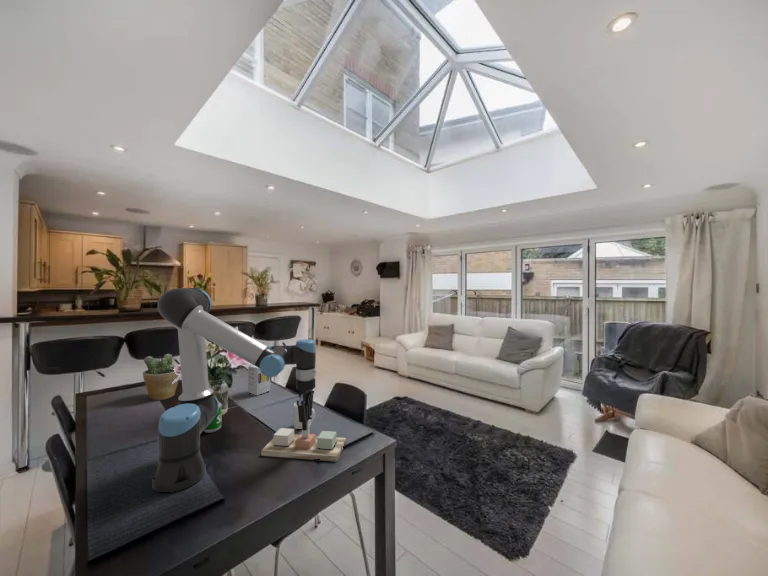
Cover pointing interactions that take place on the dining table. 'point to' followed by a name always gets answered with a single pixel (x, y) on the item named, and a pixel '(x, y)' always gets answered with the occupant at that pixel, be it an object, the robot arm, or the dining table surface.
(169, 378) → the potted plant
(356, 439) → the dining table surface
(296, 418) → the mug
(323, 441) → the sage button
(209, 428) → the soda can
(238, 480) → the dining table surface
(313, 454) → the button board
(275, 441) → the cream button
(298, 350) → the robot arm
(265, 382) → the supplement box
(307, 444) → the terracotta button
